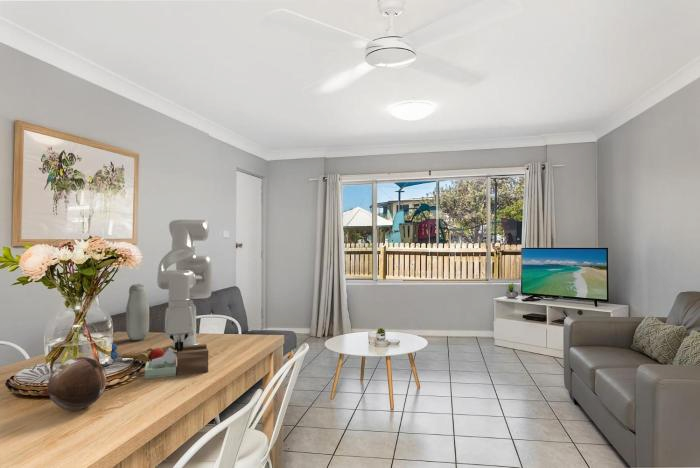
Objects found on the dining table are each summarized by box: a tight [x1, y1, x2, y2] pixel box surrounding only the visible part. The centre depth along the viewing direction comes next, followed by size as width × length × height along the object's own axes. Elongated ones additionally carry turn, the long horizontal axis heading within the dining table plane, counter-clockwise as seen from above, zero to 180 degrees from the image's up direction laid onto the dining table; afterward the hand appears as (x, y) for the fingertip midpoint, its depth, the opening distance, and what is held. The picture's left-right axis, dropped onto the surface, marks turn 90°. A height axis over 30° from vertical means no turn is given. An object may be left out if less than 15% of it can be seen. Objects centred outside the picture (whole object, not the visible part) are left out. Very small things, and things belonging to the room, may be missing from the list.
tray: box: [144, 358, 177, 380], centre depth 168 cm, size 12×11×3 cm
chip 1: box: [152, 357, 165, 369], centre depth 168 cm, size 4×4×4 cm
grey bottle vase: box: [125, 283, 150, 341], centre depth 223 cm, size 10×10×28 cm
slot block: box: [176, 343, 209, 376], centre depth 173 cm, size 12×11×8 cm
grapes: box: [111, 342, 119, 360], centre depth 178 cm, size 12×7×12 cm, turn 87°
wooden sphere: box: [47, 356, 107, 411], centre depth 133 cm, size 15×15×15 cm
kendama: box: [121, 347, 166, 365], centre depth 182 cm, size 8×6×18 cm
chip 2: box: [162, 347, 177, 364], centre depth 169 cm, size 4×4×4 cm
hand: (179, 351), depth 171 cm, fingers closed
